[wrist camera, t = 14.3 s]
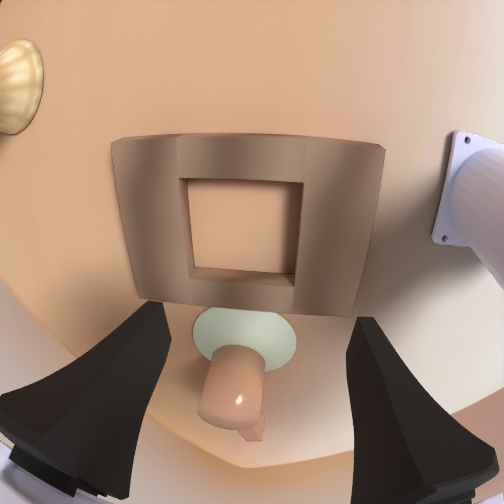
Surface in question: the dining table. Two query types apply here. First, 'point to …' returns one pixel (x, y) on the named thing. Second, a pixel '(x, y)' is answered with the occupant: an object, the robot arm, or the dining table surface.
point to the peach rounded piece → (235, 391)
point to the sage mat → (246, 334)
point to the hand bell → (19, 85)
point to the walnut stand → (254, 168)
